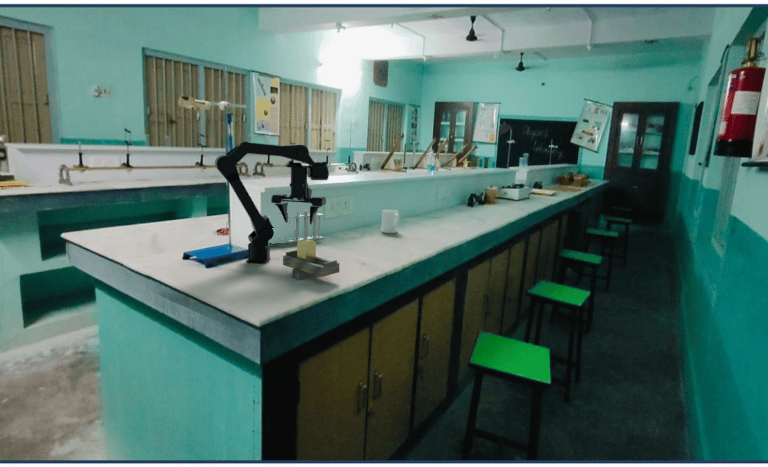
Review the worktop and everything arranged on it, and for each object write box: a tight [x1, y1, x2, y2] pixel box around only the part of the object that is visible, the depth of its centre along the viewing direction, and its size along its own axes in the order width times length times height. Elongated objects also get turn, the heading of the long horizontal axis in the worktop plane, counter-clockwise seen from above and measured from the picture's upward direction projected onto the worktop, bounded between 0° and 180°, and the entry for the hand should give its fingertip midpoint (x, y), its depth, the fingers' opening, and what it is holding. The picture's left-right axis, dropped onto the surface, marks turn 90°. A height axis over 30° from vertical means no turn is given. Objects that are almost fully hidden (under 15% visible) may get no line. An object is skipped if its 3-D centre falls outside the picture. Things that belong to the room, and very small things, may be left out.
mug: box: [380, 209, 401, 234], centre depth 216 cm, size 12×8×10 cm, turn 29°
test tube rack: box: [280, 209, 325, 244], centre depth 190 cm, size 25×4×13 cm, turn 129°
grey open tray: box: [282, 249, 340, 281], centre depth 141 cm, size 18×9×7 cm, turn 52°
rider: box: [296, 239, 317, 263], centre depth 141 cm, size 4×4×7 cm
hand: (298, 223), depth 161 cm, fingers open, 9 cm apart
